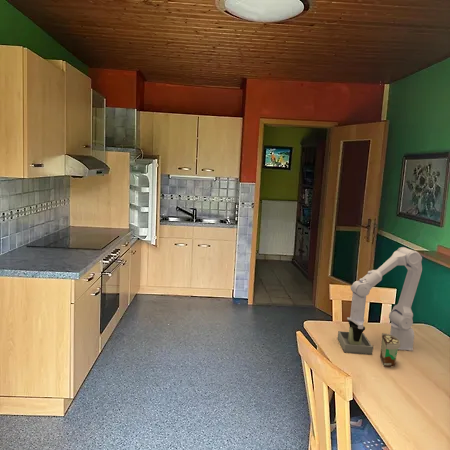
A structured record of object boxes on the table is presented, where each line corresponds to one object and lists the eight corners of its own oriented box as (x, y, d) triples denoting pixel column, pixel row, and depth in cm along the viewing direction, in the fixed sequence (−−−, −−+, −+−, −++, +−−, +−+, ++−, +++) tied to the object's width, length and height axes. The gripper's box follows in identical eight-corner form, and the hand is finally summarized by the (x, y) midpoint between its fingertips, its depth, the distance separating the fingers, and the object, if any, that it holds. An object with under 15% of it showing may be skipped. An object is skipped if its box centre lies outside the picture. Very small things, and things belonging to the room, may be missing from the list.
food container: (400, 370, 167) (403, 346, 166) (384, 368, 168) (386, 344, 167) (394, 357, 179) (397, 334, 178) (379, 355, 180) (382, 332, 179)
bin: (362, 340, 196) (363, 333, 195) (372, 354, 180) (373, 347, 180) (337, 338, 196) (338, 331, 196) (344, 352, 181) (345, 344, 180)
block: (358, 340, 190) (359, 327, 189) (360, 345, 186) (362, 331, 185) (348, 340, 190) (349, 327, 190) (350, 344, 186) (351, 330, 185)
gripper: (345, 303, 193) (342, 331, 195) (352, 313, 179) (349, 344, 181) (360, 304, 193) (357, 333, 195) (369, 315, 179) (366, 346, 180)
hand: (354, 338), depth 188 cm, fingers closed on block, 4 cm apart
